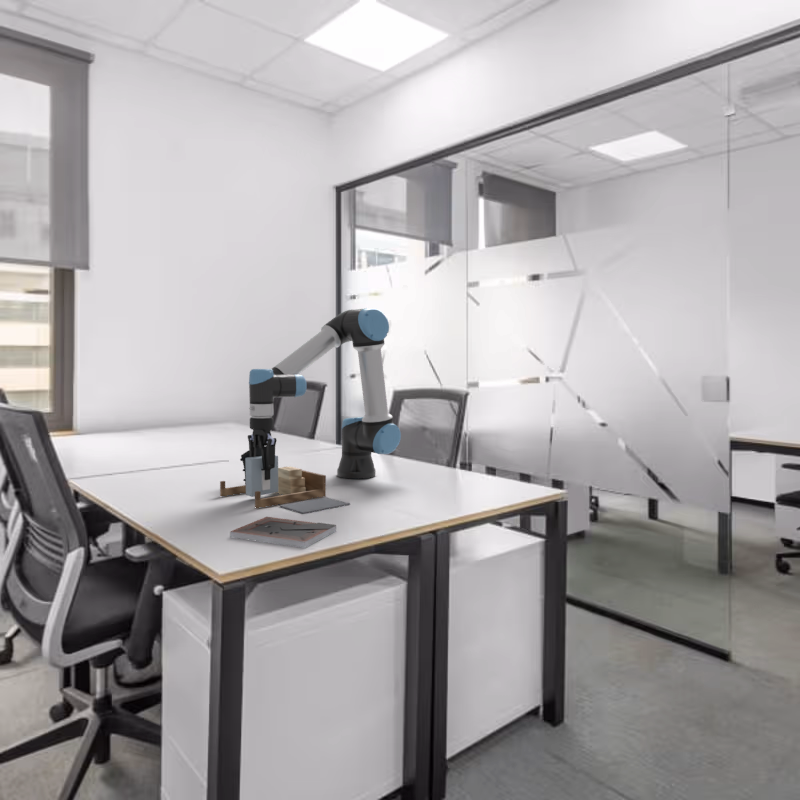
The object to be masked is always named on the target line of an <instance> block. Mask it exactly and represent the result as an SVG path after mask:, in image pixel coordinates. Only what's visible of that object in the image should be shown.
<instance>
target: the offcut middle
mask: <svg viewBox="0 0 800 800" xmlns="http://www.w3.org/2000/svg"><path fill="white" fill-rule="evenodd" d="M278 486H279V487H283V488H287V489H295V488H301V487H305V478H303V477H302V478H299V479H291V480H288V479H284V478H281V477H278Z"/></svg>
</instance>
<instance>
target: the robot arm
mask: <svg viewBox="0 0 800 800" xmlns="http://www.w3.org/2000/svg"><path fill="white" fill-rule="evenodd" d="M389 330H390V324H389V320H388V317H387V316H386V314H385V313H383V311H381V310H380V309H377V308H373V307H372V308H371V307H366V308H358V309H357V308H356V309H348V310H347V309H346V310H345V311H343V312H341V313H338V314H337V315H336V316H335V317H333V318H332V319H330V320H329V321H328V322H327V323H325V324H324V325H323V326H322V327H321V328H320V331H319V332H318V333H317V334H316V335H314V336H312V337H311V338H310V339H309V340H307V341H305V343H303V344H302V345H301V346H300V347H298V348H297V349H295V350H294V351H293V352H292V353H291V354H289V355H288V356H286V357H285V358H284V359H282V360H280V362H278V363H277V364H276V365H275V366H273V367H272V368H253V369H250V371H249V376H248V386H249V387H248V389H249V394H248V395H249V407H248V409H249V416H250V418H249V429H250V430H252V434H249V435H247V440H248V441H247V442H248V451H249V457H257V456H262V463H263V469H261V472H262V490H268V489H270V470H271V469H272V468H275V455H276V445H277V438H276V437H274V438H273V437H272V433H271V432H272V431H271V430H273V429H274V427H275V426H274V417H273V416H274V413H275V412H274V411H275V410H274V398H275V399H277V398H297V397H303V396H304V395H305V394H306V393H307V383H308V382H307V380H306V378H305V376H304V375H302V373H303V372H304V371H305V370H306V369H308V368H309V367H310V366H312V365H313V364H315V363H316V362H317V361H318V360H320V359H321V358H322V357H323V356H324V355H325V354H327V353H328V352H330V351H331V350H332V349H334V348H339V347H340V346H342V345H343V344H345V343H349V342H351V343H352V348H353V349H354V350H355V351H356V352H357V354H358V365H359V375H360V382H361V383H360V384H361V390H362V399H363V408H364V416H359V417H346V418H344V419H343V420H342V423H341V458H340V460H339V464H338V468H337V470H336V475H337V477H339V478H342V477H343V478H342V479H350V478H358V479H359V478H363V479H370V477H371V478H374V477H376V474H377V473H376V472H377V471H376V468H375V465H374V461H373V458H372V453H375V454H378V455H389V454H392V453H394V452H395V450H396V449H397V447H399V445H400V442H401V438H402V433H401V432H402V431H401V429H400V428H399V426H398V425H397V424H395V423H394V419H393V415H392V414H391V413H389V410H388V400H387V391H386V381H385V375H384V366H383V364H384V363H383V356H382V348H383V346H384V345H385V338H386V337H387V336H388V333H389V332H390V331H389ZM359 480H360V479H359Z"/></svg>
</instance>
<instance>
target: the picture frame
mask: <svg viewBox="0 0 800 800" xmlns="http://www.w3.org/2000/svg"><path fill="white" fill-rule="evenodd" d="M335 532H337V525H336V524H333V523H332V524H331V523H325V522H312V521H311V522H310V521H306V520H305V521H304V520H295V519H288V518H280V517H279V518H278V517H272V516H265V517H262V518H260V519H257V520H255V521H252V522H250V523H248V524H245V525H243V526H242V525H241V526H240V527H237V528H235V529H233V530H230V531H229V538H230V537H234V538H233V539H237V538H240V539H239V540H244V539H249V540H248V541H251V540H256V541H255V542H258V541H263V542H262V543H265V542H268V543H267V544H273V543H274V545H280V546H287V547H288V546H289V547H296V548H302V549H306V548H308V547H310V546H311V545H313V544H315V543H317V542H318V541H320V540H322V539H325V537H327V536H330V535H331V534H333V533H335Z"/></svg>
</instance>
